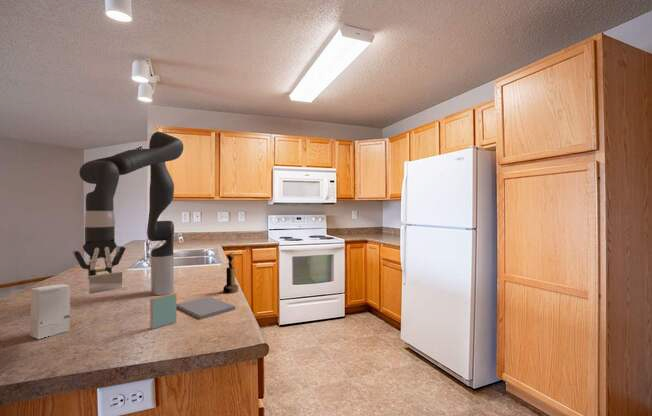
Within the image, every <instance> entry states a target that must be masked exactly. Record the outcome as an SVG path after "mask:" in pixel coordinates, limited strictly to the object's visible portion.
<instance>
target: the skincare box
mask: <svg viewBox="0 0 652 416" xmlns="http://www.w3.org/2000/svg"><path fill="white" fill-rule="evenodd" d="M30 293H31V294H30V295H31V296H30V329H29V330H30V337H32V338H34V339H35V338H36V340H37V339H39V340H41V338H42V339H45V338H44V337H46V338H49V337H52V336H54V335H55V336H56V335H58V334H62V333H66V332H69V331H70V321H71V320H70V317H71V316H70V314H71V313H70V312H71V285H69V284H66V283H65V284H64V283H59V284H52V285H45V286H39V287H33V288H30ZM48 336H49V337H48Z"/></svg>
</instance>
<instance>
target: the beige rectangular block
mask: <svg viewBox="0 0 652 416" xmlns="http://www.w3.org/2000/svg"><path fill="white" fill-rule="evenodd" d="M95 270H96V273H95V275H94V276H89V270H88V269H87V281H88V284H89V285H88V286H89V288H88V291H89V292H88V293H89V295H92V294H97V293H103V292H104V293H105V292H109V291H115V290H119V289H122V288H123V272H122V271H118V272H117V271H116V272H112V273H109V272H108V271H106V270H105V267H102V266H101V265H100V264H96V265H95Z"/></svg>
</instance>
